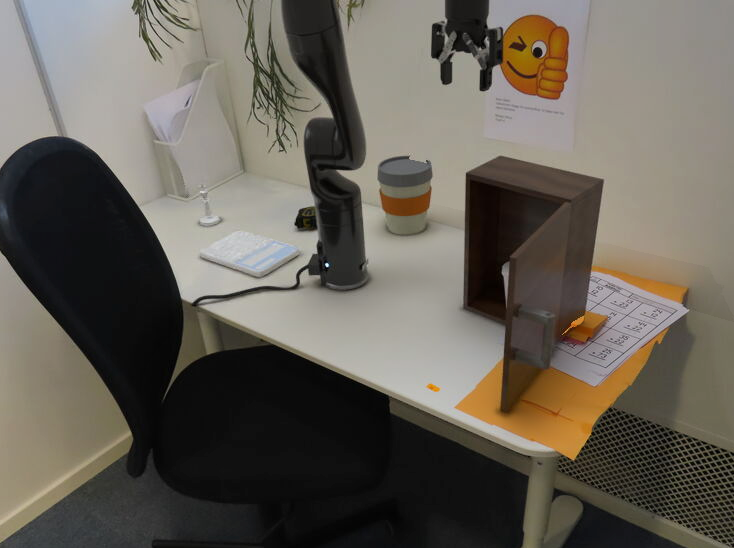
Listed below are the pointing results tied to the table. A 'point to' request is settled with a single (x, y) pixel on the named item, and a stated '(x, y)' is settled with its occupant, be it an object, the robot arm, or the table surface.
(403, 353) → the table surface
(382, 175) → the reusable coffee cup
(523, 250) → the cupboard door
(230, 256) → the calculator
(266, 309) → the table surface
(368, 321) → the table surface
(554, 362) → the table surface
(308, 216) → the tape measure
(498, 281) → the cupboard
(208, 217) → the chess piece
